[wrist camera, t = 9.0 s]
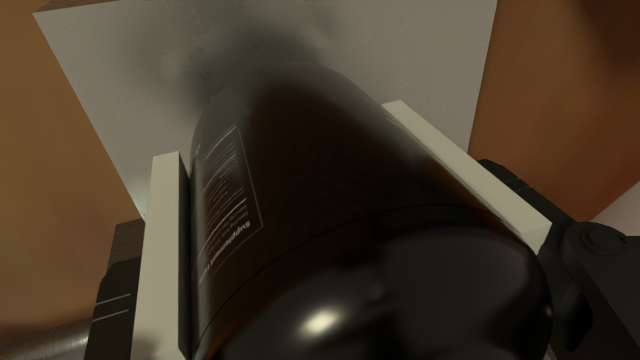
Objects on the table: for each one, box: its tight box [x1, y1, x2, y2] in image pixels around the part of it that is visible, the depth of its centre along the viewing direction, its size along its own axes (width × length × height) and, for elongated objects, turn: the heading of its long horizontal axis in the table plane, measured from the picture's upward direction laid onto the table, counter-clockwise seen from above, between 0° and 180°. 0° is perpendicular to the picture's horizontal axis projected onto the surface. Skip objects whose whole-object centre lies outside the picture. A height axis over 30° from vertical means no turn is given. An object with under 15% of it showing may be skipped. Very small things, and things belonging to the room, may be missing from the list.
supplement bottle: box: [190, 62, 553, 360], centre depth 9 cm, size 7×7×12 cm
